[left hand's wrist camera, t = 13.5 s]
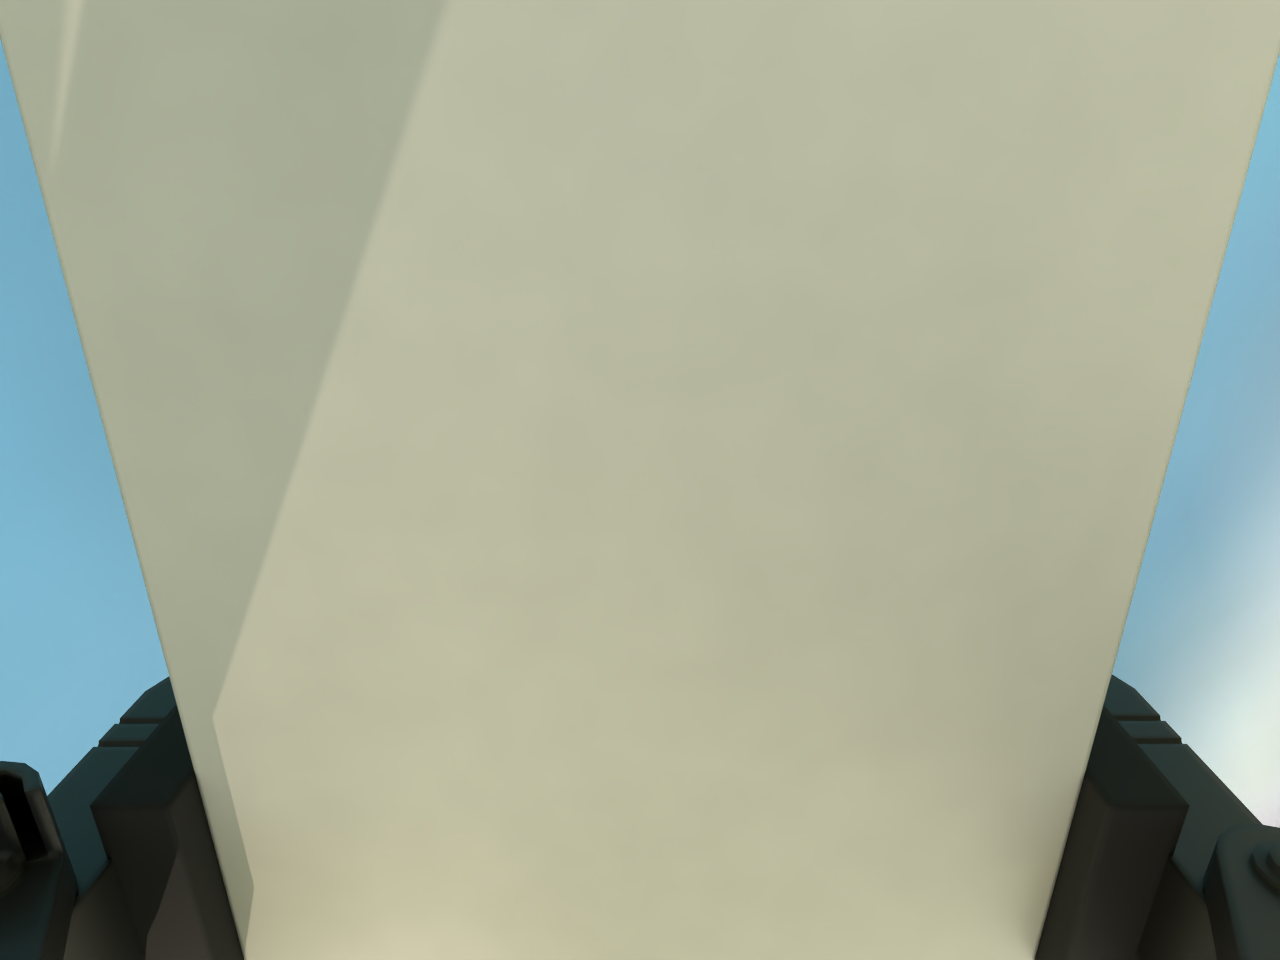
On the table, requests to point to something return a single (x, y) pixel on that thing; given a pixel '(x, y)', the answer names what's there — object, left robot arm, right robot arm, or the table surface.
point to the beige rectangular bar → (640, 440)
